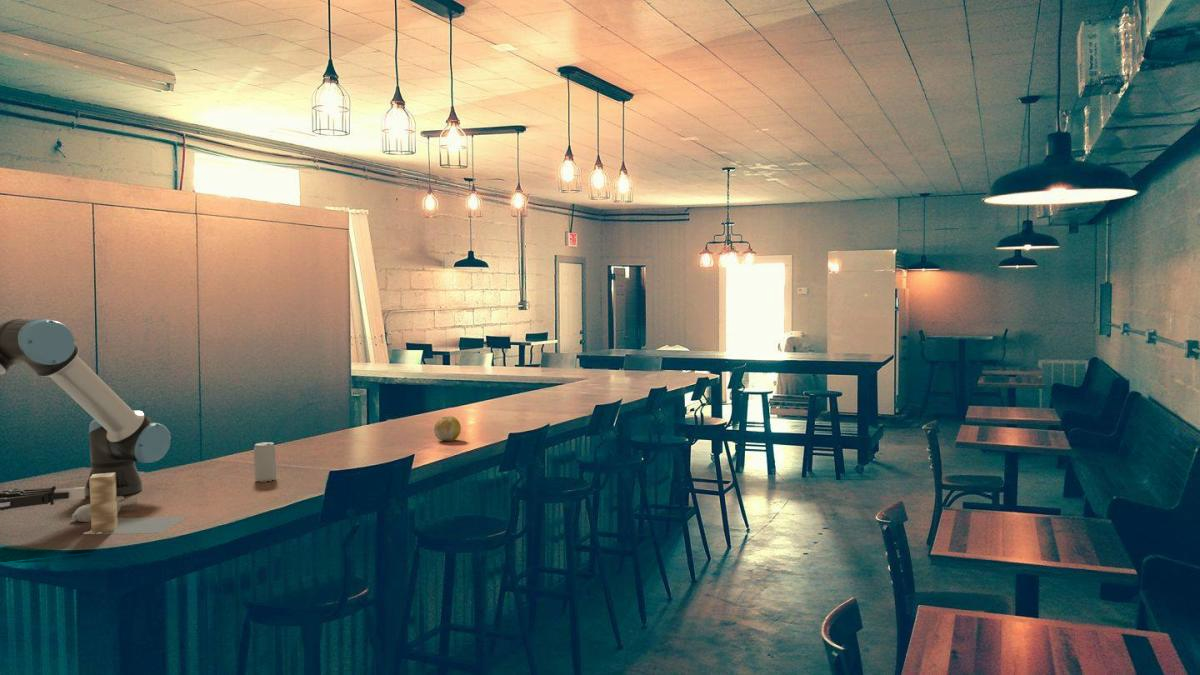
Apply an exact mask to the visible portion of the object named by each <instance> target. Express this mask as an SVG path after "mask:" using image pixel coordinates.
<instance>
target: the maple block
mask: <svg viewBox="0 0 1200 675" xmlns="http://www.w3.org/2000/svg"><path fill="white" fill-rule="evenodd" d="M89 483H90V497H89V501H90V502H89V504H90V505H91V521H90V524H91V525H90V526H91V529H92V533H98V532H110V531H115V529H116V528H117V526H118V519H117V518H118V514H117V497H118V496H116V474H115V473H102V474H93V475H92V476H91V477H90V478H89Z"/></svg>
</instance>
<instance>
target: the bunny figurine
mask: <svg viewBox="0 0 1200 675" xmlns="http://www.w3.org/2000/svg"><path fill="white" fill-rule="evenodd" d="M116 497H117V515H118V514H119V512H120V510H121V508H122V507H124V506H125V507H126V506H130V505H136V504H137V503H138V501H137V499H136V498H134V497H133V498H129V499H126V500H125V497H124V495H123V496H116ZM71 519H72V521H73V522H84V523H89V522H91V505H90V503H88V504H85V505H81V506H79V507H78V508H77V509H76V510H75V511H74V513H72V514H71Z"/></svg>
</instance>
